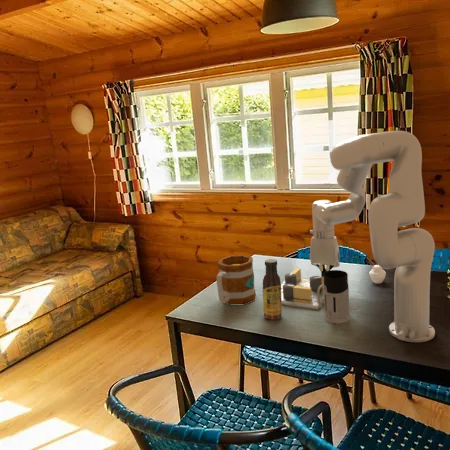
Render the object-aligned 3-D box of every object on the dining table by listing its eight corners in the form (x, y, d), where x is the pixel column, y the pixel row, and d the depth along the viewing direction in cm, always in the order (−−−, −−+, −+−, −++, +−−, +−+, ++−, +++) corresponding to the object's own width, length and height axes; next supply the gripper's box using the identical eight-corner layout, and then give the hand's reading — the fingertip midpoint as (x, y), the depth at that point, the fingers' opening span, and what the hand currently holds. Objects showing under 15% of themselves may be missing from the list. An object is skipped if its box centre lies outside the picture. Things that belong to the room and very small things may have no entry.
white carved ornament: (387, 284, 170) (387, 267, 169) (370, 285, 171) (370, 267, 170) (384, 278, 176) (384, 261, 175) (368, 279, 177) (367, 262, 176)
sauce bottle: (267, 322, 149) (263, 265, 144) (261, 314, 155) (256, 259, 150) (286, 318, 151) (282, 261, 146) (278, 311, 157) (275, 256, 152)
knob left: (294, 287, 171) (293, 277, 170) (283, 286, 173) (282, 276, 172) (304, 278, 180) (303, 268, 179) (293, 277, 182) (293, 267, 181)
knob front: (281, 297, 163) (280, 286, 162) (286, 293, 167) (285, 282, 166) (308, 301, 158) (308, 290, 157) (313, 296, 162) (312, 285, 161)
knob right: (310, 290, 167) (310, 279, 166) (309, 286, 171) (308, 275, 170) (339, 289, 166) (339, 278, 165) (337, 284, 170) (336, 273, 169)
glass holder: (356, 315, 148) (355, 272, 144) (331, 332, 139) (329, 286, 135) (333, 309, 154) (331, 267, 151) (307, 324, 145) (305, 280, 141)
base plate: (317, 309, 155) (317, 299, 154) (264, 301, 165) (264, 292, 164) (337, 286, 173) (336, 277, 172) (288, 280, 183) (288, 272, 182)
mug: (232, 289, 180) (228, 253, 176) (262, 293, 173) (259, 256, 169) (205, 309, 164) (201, 270, 160) (237, 314, 157) (234, 274, 153)
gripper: (301, 235, 168) (303, 282, 172) (340, 237, 160) (342, 286, 164) (308, 230, 174) (310, 275, 178) (346, 231, 166) (348, 279, 170)
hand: (326, 280), depth 171 cm, fingers closed
